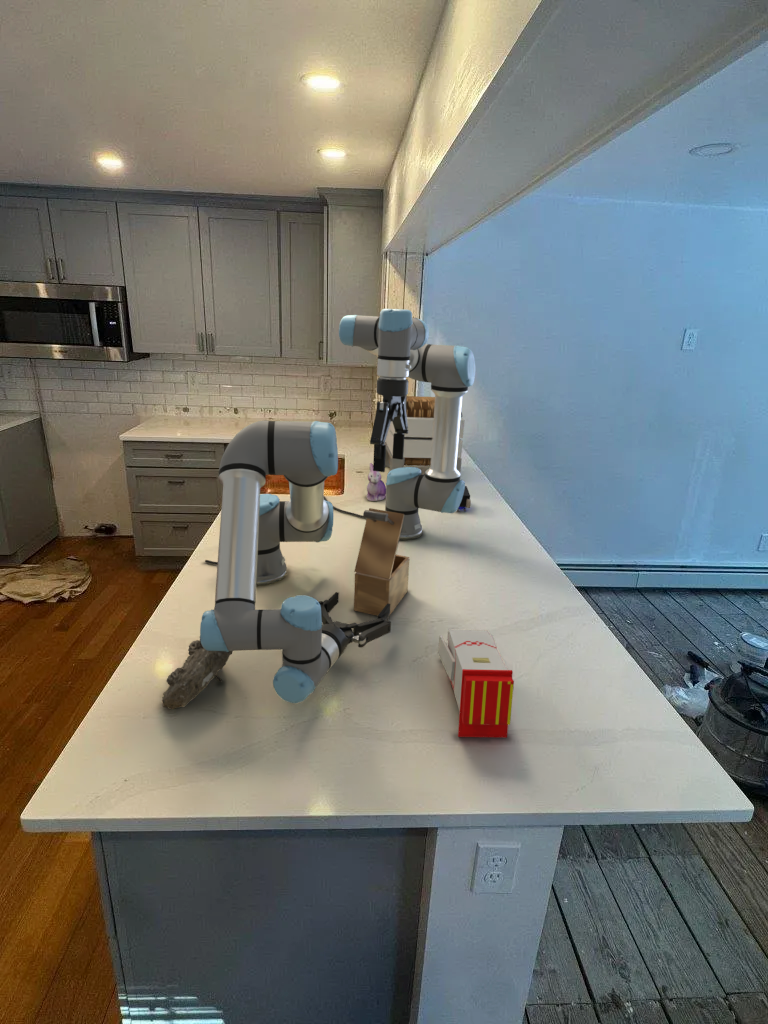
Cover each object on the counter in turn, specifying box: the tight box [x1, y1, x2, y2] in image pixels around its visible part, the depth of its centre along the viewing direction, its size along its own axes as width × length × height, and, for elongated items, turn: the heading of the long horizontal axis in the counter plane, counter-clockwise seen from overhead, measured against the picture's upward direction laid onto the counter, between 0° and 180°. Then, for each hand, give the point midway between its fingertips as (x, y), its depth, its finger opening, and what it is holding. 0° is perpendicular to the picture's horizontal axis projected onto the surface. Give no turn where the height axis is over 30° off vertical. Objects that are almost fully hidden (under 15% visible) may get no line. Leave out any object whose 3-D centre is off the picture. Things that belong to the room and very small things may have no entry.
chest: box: [353, 554, 411, 617], centre depth 152 cm, size 16×10×11 cm, turn 159°
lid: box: [354, 507, 404, 579], centre depth 141 cm, size 17×10×9 cm
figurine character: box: [456, 485, 472, 513], centre depth 228 cm, size 7×8×15 cm
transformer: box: [384, 394, 465, 475], centre depth 268 cm, size 34×33×41 cm
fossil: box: [161, 638, 234, 710], centre depth 117 cm, size 22×10×15 cm
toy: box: [437, 628, 515, 738], centre depth 117 cm, size 12×13×30 cm
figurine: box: [365, 462, 386, 502], centre depth 233 cm, size 9×10×15 cm
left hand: (362, 602), depth 138 cm, fingers open, 13 cm apart
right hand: (388, 464), depth 141 cm, fingers open, 13 cm apart
